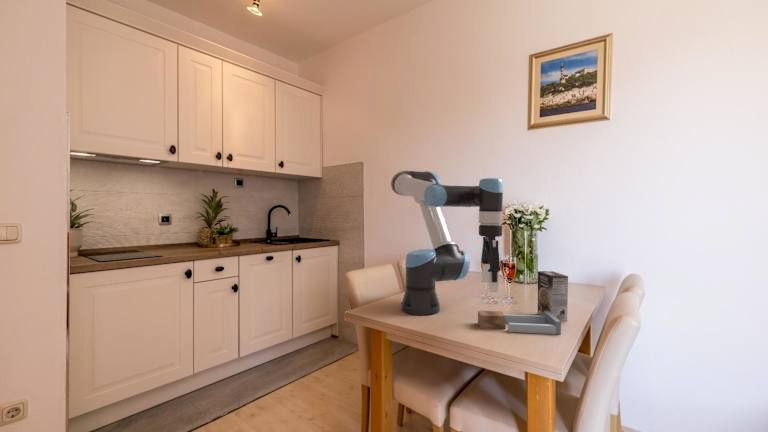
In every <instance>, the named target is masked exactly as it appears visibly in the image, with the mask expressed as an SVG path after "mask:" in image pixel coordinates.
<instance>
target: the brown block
mask: <svg viewBox="0 0 768 432" xmlns="http://www.w3.org/2000/svg"><path fill="white" fill-rule="evenodd" d="M504 314H505V313H504V312H503V311H501V310H499V311H498V310H496V311H495V310H477V324H478V326H479V328H480V329H490V330H491V329H493V330H494V329H495V330H496V329H497V330H506V328H507V327H506V324H507V323H506V316H505V315H504Z"/></svg>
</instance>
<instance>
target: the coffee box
mask: <svg viewBox="0 0 768 432" xmlns="http://www.w3.org/2000/svg"><path fill="white" fill-rule="evenodd" d="M568 292H569V276H568V275H566V274H562V273H560V272H556V271H550V270H549V271H547V270H541V271H540V270H539V271H537V315H542V316H544V311H549V312H550V313H551V314H552V315H553V316H555V317H556V318H557V319H558V320H559V321H561V322H567V321H568V303H569V302H568V300H569V299H568V298H569V297H568V296H569V295H568V294H569V293H568Z"/></svg>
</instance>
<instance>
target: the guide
mask: <svg viewBox="0 0 768 432" xmlns="http://www.w3.org/2000/svg"><path fill="white" fill-rule="evenodd" d="M503 314H504V315H505V316H506V324H507V323H508V325H507V326H508V327H507V328H508V329H507V330H508V332H509V333H524V334H525V333H527V334H542V335H543V334H544V335H545V334H547V335H548V334H549V335H553V334H554V335H561V333H562V331H561V330H562V321H559V320H558V319H557V318H556V317H555V316H553V315H552V314H551V313H550V312H549V311H544V316H542V315H540V314H536V315H535V314H512V313H511V314H510V313H503Z"/></svg>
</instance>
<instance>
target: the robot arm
mask: <svg viewBox="0 0 768 432" xmlns="http://www.w3.org/2000/svg"><path fill="white" fill-rule="evenodd" d="M478 182H479V184H478V185H447V184H446V185H445V184H442V183H441V180H440V177H439V175H437V173H436V172H432V171H428V170H427V171H425V170H424V171H418V170H417V171H416V170H415V171H414V170H402V171H399V172H397V173H395V175H393V177H392V178H391V181H390V187H391V189H392V191H393V192H394V193H395V194H397V195H399V196H404V197H412V198H413V199H414V202H415V203H417V204H418V205H419V208H420V210H421V213H422V216H423V219H424V223H425V225H426V226H425V227H426V228H427V232H428V235H429V238H430V239H429V240H430V241H431V244H432V248H433V249H432V248H424V249H415V250H412V251H409V252H408V253H407V254H406V256H405V264H404V265H405V291H404V295H403V298H402V300H401V305H400V306H401V311H402V312H404V313H406V314H409V315H416V316H428V315H430V316H431V315H434V314H438V313H439V312H440V311H441V309H440V307H441V304H440V300H439V298H438V294H437V292H436V283H437V282H438V283H439V282H448V281H457V280H462V279H464V278H465V277H466V276H467V275H468V274H469V271H470V266H471V263H470V257H469V255H468V253H467V252H465V251H464V250H460V247H459V245H458V243H456V242H453V239H452V235H451V233H450V231H449V230H450V229H449V227H448V225H447V222H446V220H445V216H444V213H443V210H442V208H441V207H444V208H445V207H448V208H449V207H451V208H453V207H454V208H455V207H456V208H458V207H461V208H471V207H472V208H477V207H478V223H479V225H478V235H479V236H481V237H482V250H481V257H480V258H481V262H482V263H481V265H482V266H481V268H482V271H481V274H482V276H481V277H482V279H481V282H482V283H488V292H489V293H499V277H500V276H499V272H501V261H500V252H499V240H497V239H496V238H497V237H502V236H503V226H502V225H501V224H503V218H504V217H505V215H504V214H503V195H504V194H503V193H504V190H503V189H504V186H503V184H504V183H503V180H502V179H501V178H497V177H491V178H490V177H489V178H481V179H480V180H479V181H478Z"/></svg>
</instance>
